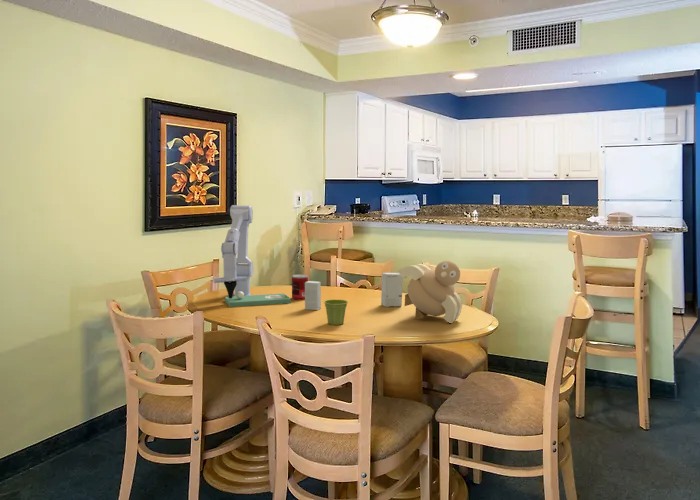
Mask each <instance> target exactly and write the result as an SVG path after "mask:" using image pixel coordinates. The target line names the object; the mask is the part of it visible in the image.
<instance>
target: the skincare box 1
mask: <svg viewBox="0 0 700 500" xmlns="http://www.w3.org/2000/svg"><path fill="white" fill-rule="evenodd" d="M321 283H322V282H321V281H315V280H308V282H305V299H304V310H309V311H310V310H311V311H319V310H320V309H322V303H321V302H322V298H321V297H322V294H321V293H322V289H321V288H322V287H321V285H322V284H321Z"/></svg>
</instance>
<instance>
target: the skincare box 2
mask: <svg viewBox="0 0 700 500" xmlns="http://www.w3.org/2000/svg"><path fill="white" fill-rule="evenodd" d="M403 281H404V279H403V278H402V276H401V275H400V274H399V272H382V273H381V293H380V295H381V296H380V299H381V300H380V305H381V306H383V307H385V308H390V307H389V306H394V307H402V306H403V305H402V302H403Z"/></svg>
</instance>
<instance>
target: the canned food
mask: <svg viewBox="0 0 700 500" xmlns="http://www.w3.org/2000/svg"><path fill="white" fill-rule="evenodd" d="M308 281H309V275H307V274H301V273H300V274H293V275H291V299H292V300H296V301H297V300H299V301H300V300H301V301H302V300H305V282H308Z"/></svg>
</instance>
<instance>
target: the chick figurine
mask: <svg viewBox="0 0 700 500" xmlns="http://www.w3.org/2000/svg"><path fill="white" fill-rule="evenodd" d="M397 273H399V274H400V275H401V276H402V278H403V280H404V279H406V278H407V277H410V278H411V279H410V280H409V282H408V284H407V288H406V289H407V294H404V307H407V306H412V305H413V306H414V307H415V313H414V314H415V316H414V319H415V318H416V319H420V318H424V317H426V316H432V317H437V316H438V317H440V316H442V318H443V319H444V320H445V321H446V322H447V323H448V322H449V323H452V322H453V323H454V322H455V321H457V320H458V319H459V317H460V315H461V312H462V309H463V302H462V301H463V300H462V299H461V297H460V295H459V294H458V293H457V292H456V289H455V287H454V285H455V284H457V283H458V281H459V280H460V278H461V270H460V268H459V266H458V265H457V264H456V263H455V262H453V261H450V260H442V261H440V262H438V263H437V264H436V266H435V269H431V267H430V266H428V265H426V264H424V263H418V264H415V265H414V264H413V265H408V266H404V267H402V268H400V269H398V270H397ZM449 323H448V324H449ZM453 323H452V324H453Z"/></svg>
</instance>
